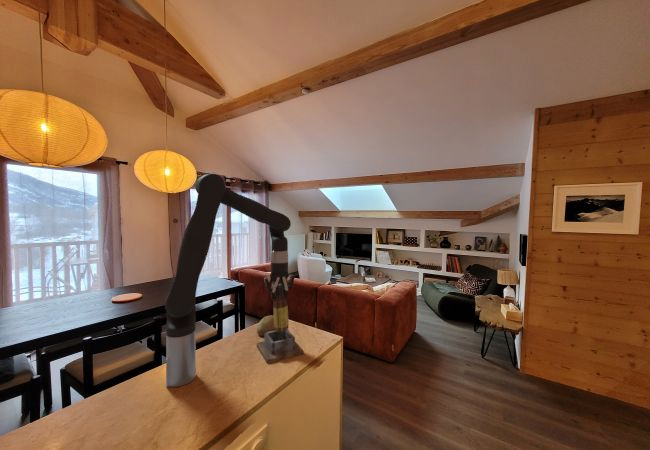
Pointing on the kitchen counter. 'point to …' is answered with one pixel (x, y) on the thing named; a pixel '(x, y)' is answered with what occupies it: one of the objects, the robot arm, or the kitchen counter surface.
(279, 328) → the sauce bottle
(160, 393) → the kitchen counter surface
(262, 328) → the bread roll
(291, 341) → the grey open box
